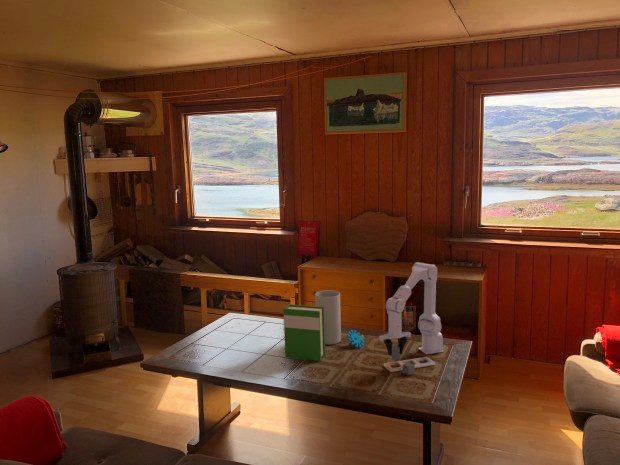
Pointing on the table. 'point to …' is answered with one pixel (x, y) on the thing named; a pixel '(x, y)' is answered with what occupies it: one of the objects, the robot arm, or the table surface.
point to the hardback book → (304, 332)
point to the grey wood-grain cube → (408, 368)
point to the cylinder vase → (330, 315)
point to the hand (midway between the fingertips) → (395, 354)
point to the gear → (355, 338)
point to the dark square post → (395, 352)
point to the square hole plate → (414, 361)
